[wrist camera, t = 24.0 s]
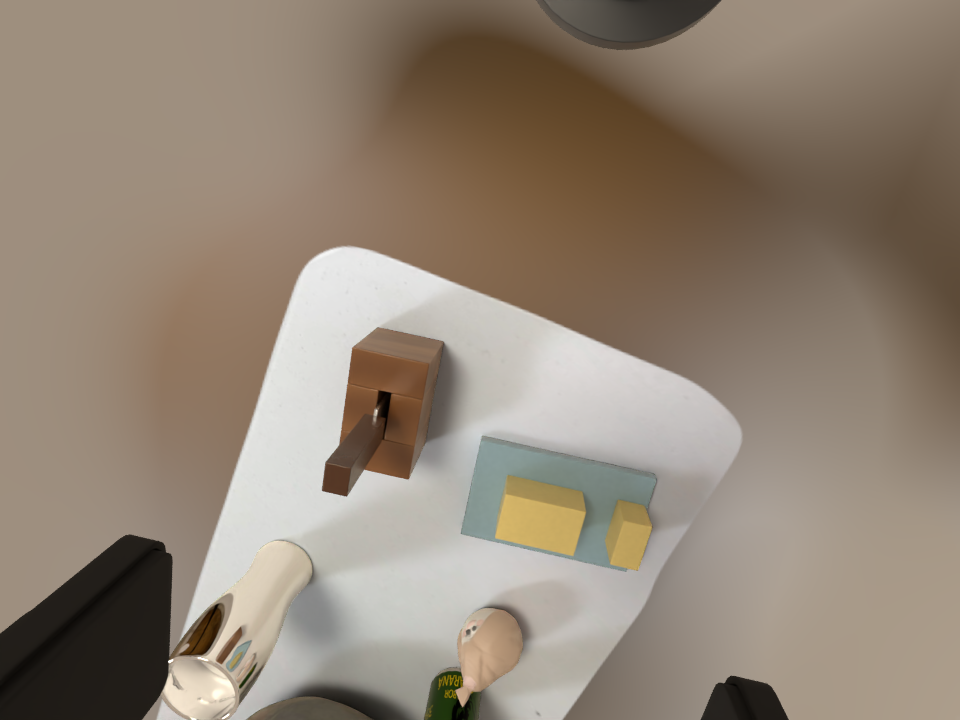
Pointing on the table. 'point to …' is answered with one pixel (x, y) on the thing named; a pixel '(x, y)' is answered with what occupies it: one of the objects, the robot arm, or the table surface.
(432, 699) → the green soda can
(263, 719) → the bowl
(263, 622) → the beer glass
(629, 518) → the butter slice
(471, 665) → the garlic bulb
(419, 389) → the knife block
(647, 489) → the butter dish
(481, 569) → the table surface
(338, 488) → the knife
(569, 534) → the butter
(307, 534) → the table surface
